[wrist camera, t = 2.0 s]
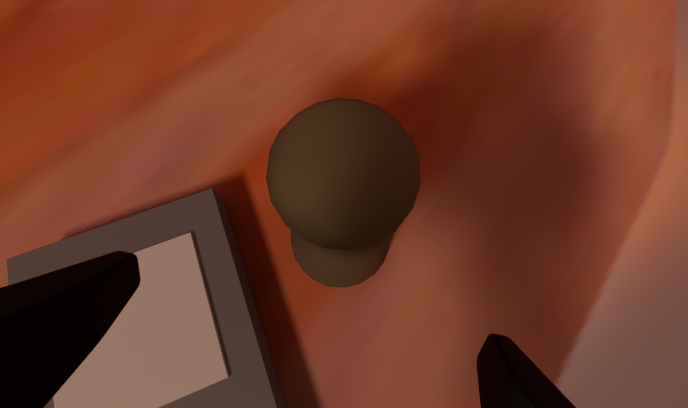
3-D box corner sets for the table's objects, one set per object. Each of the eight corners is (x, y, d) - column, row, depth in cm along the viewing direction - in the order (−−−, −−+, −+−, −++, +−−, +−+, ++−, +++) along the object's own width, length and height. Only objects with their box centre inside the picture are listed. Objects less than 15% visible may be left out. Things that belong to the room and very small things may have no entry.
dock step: (325, 534, 15) (323, 569, 13) (80, 664, 14) (34, 727, 11) (223, 199, 20) (210, 186, 18) (39, 264, 19) (3, 258, 17)
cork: (343, 174, 21) (350, 38, 11) (409, 240, 20) (489, 157, 10) (271, 233, 20) (199, 142, 9) (336, 310, 18) (337, 301, 8)
